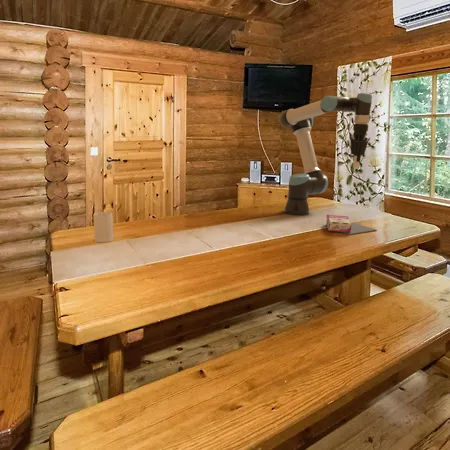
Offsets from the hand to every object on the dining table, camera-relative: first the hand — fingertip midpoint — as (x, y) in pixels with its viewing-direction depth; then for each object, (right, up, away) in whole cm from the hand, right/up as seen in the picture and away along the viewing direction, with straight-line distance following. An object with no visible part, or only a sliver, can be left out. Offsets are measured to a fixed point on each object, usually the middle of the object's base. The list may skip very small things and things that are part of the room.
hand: (355, 167), depth 218 cm
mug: (-127, -38, -38) cm, 138 cm away
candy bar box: (-11, -29, -3) cm, 31 cm away
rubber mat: (-5, -34, -9) cm, 35 cm away
